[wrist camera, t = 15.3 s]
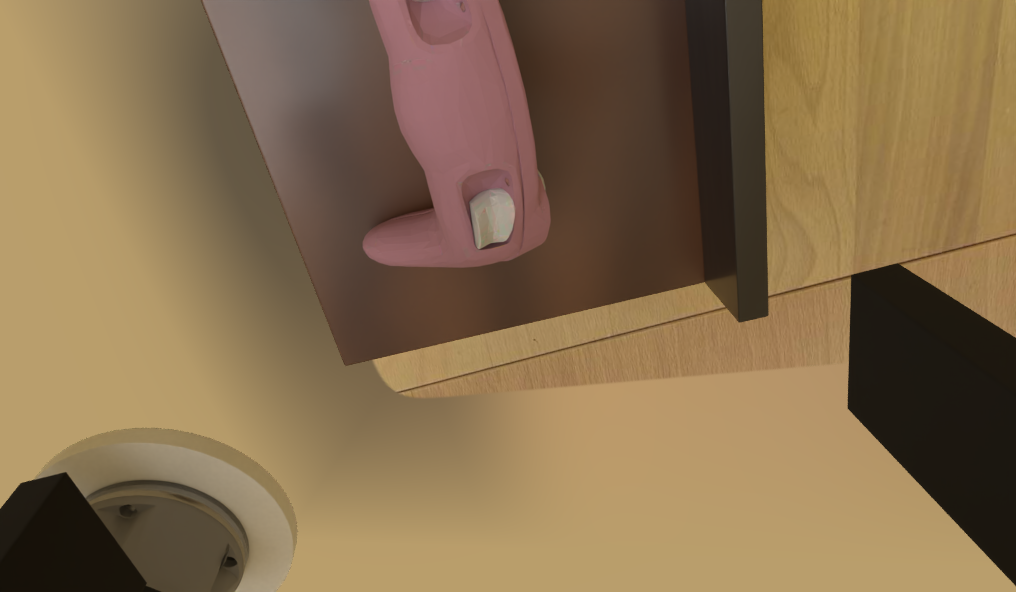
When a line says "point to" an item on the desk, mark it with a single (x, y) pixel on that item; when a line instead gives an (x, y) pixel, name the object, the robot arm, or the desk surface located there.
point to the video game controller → (460, 136)
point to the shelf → (559, 153)
